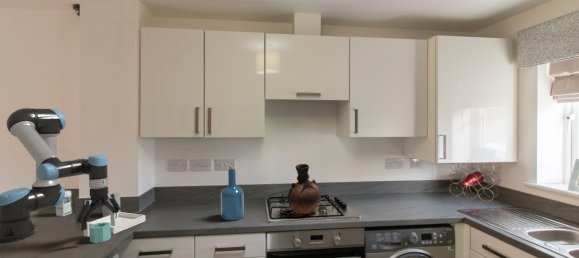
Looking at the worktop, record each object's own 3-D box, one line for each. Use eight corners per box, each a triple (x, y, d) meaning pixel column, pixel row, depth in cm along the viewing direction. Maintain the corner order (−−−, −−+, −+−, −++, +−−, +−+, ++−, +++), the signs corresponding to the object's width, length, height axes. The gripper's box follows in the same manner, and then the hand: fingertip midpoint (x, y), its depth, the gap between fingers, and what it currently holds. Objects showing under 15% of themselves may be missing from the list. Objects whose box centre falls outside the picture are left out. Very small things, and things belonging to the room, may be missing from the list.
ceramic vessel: (314, 207, 188) (314, 161, 187) (326, 215, 171) (325, 165, 170) (283, 210, 181) (283, 163, 180) (292, 219, 164) (292, 167, 163)
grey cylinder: (106, 218, 170) (105, 197, 170) (99, 215, 176) (99, 195, 176) (123, 214, 178) (122, 194, 178) (116, 211, 184) (116, 192, 183)
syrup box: (63, 216, 175) (62, 192, 175) (55, 215, 176) (54, 192, 176) (72, 213, 181) (71, 190, 180) (64, 213, 182) (63, 190, 181)
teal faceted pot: (98, 243, 135) (98, 229, 135) (86, 241, 138) (86, 227, 137) (114, 237, 142) (113, 223, 142) (102, 235, 145) (102, 221, 145)
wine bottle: (235, 222, 161) (234, 169, 160) (216, 219, 166) (215, 167, 166) (248, 215, 173) (247, 165, 172) (230, 212, 179) (229, 164, 178)
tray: (113, 234, 147) (113, 227, 146) (86, 229, 153) (85, 223, 153) (145, 220, 165) (145, 215, 165) (119, 217, 172) (119, 211, 172)
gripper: (77, 193, 126) (79, 241, 127) (127, 182, 150) (128, 222, 150) (66, 192, 129) (68, 239, 129) (116, 181, 152) (118, 221, 153)
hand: (100, 230), depth 140 cm, fingers open, 13 cm apart
